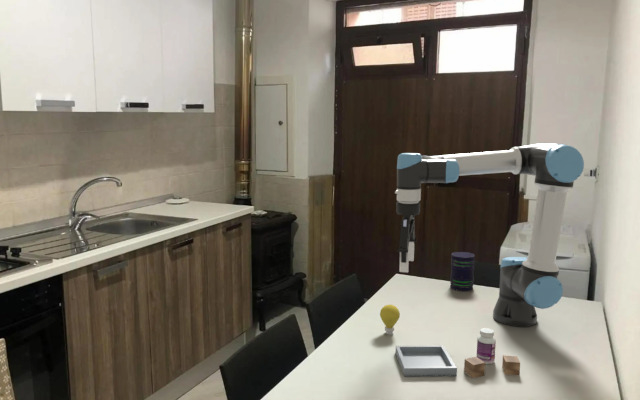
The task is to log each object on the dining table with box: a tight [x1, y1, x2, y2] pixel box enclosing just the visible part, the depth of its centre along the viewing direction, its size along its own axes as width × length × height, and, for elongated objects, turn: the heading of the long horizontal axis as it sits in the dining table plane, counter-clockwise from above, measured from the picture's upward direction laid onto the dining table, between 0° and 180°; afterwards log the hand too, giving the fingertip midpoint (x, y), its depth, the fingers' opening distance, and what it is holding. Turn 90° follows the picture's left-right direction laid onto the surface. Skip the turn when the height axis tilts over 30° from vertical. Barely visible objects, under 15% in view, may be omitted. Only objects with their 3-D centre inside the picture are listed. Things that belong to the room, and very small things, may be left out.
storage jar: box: [449, 251, 476, 292], centre depth 225 cm, size 10×10×15 cm
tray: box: [395, 344, 458, 378], centre depth 155 cm, size 15×15×2 cm
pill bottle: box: [476, 327, 497, 365], centre depth 157 cm, size 5×5×10 cm
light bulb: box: [379, 304, 401, 335], centre depth 177 cm, size 7×7×10 cm
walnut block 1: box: [463, 356, 486, 379], centre depth 149 cm, size 4×4×4 cm
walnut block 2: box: [501, 355, 521, 376], centre depth 150 cm, size 4×4×4 cm
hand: (406, 266), depth 169 cm, fingers open, 13 cm apart
